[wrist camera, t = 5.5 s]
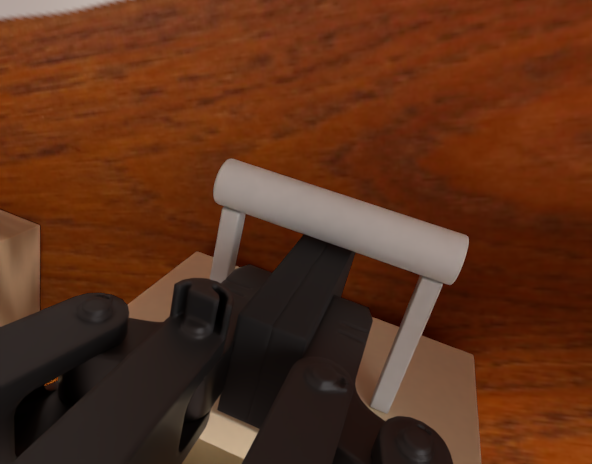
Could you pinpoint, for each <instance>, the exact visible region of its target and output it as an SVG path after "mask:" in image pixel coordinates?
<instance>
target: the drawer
mask: <svg viewBox="0 0 592 464" xmlns="http://www.w3.org/2000/svg"><path fill="white" fill-rule="evenodd" d="M213 197H214V200H215V202H216V203H217V204H219V205H222V206H225V207H223V208H222V212H221V218H220V223H219V229H218V235H217V240H216V246H215V251H214V257H211V256H209V255H206V254H203V253H201V252H198V251H196V252H195V253H194V254H192V255H191V256H190V257H189V258H187V259H186V260H185V261H183V262H182V263H181V264H179V265H178V266H177V267H176V268H174V269H173V270H172V271H170V272H169V273H168V274H166V275H165V276H164V277H163V278H161V279H160V280H159V281H157V282H156V283H155V284H153V285H152V286H151V287H150V288H148V289H147V290H146V291H144V292H143V293H142V294H140V295H139V296H138V297H137V298H135V299H134V300H133V301H131V302H130V303H129V304H127V305H128V309H129V318H134V319H140V320H146V321H153V322H164V321H165V320H166V319H167V318H168V317H169V316H170V311H171V304H172V297H173V291H174V284H175V283H177V282H179V281H181V280H184V279H189V278H207V279H210V280H214V281H217V282H219V283H222V282H223V281H224V280H226V278H227V277H228V276H229V275H230V274H231V273H232V272H233V271H234V270H235V269H237V268H240V267H238V266H235V265H236V260H237V255H238V250H239V245H240V240H241V235H242V230H243V226H244V221H245V216H246V214H248V215H251V216H254V217H256V218H259V219H262V220H265V221H268V222H271V223H274V224H276V225H279V226H282V227H285V228H288V229H291V230H294V231H296V232H299V233H302V234H305V235H308V236H311V237H313V238H316V239H319V240H322V241H325V242H328V243H331V244H333V245H336V246H339V247H342V248H345V249H348V250H351V251H353V252H356V253H359V254H362V255H365V256H368V257H370V258H373V259H376V260H379V261H382V262H385V263H388V264H390V265H393V266H396V267H399V268H402V269H405V270H408V271H410V272H413V273H416V274H419V275H420V276H419V279H418V281H417V284H416V286H415V289H414V292H413V294H412V297H411V299H410V302H409V304H408V307H407V309H406V312H405V314H404V317H403V319H402V322H401V324H400V327H398V326H395V325H393V324H390V323H387V322H385V321H382V320H379V319H377V318H374V317H372V319H373V322H372V326H371V329H370V332H369V336H368V339H367V342H366V346H365V349H364V353H363V356H362V359H361V363H360V366H359V369H358V373H357V376H356V382H355V386H356V390H357V393H358V395H359V397H360V399H361V400H362V401H363V403H364V404H365V405H366V406H367V407H368V408H369V409H370V410H371V411H372V412H374V413H375V414H376V415H377V416H379V417H380V418H382V419H383V420H384V421H386V420H387V419H390V418H393V417H396V416H404V417H411V418H414V419H416V420H419V421H422V422H424V423H425V424H427V425H428V426H429V427H431V428H432V429H434V430H435V431H436V432H437V433H438V434H439V435H440V437H441V438H442V439H443V440H444V441H445V443H446V445H447V447H448V449H449V451H450V454H451V457H452V461H453V464H481V451H480V437H479V423H478V409H477V395H476V381H475V366H474V355H472V354H470V353H467V352H464V351H462V350H459V349H456V348H454V347H451V346H448V345H446V344H443V343H440V342H438V341H435V340H432V339H430V338H427V337H424V336H422V333H423V331H424V328H425V326H426V323H427V321H428V319H429V316H430V314H431V312H432V309H433V307H434V305H435V302H436V300H437V298H438V295H439V293H440V291H441V288H442V283H445V284H447V285H452V284H453V283H454V282H455V280H456V279H457V277H458V275H459V273H460V271H461V268H462V266H463V263H464V260H465V257H466V254H467V250H468V246H469V237H468V236H467V235H464V234H461V233H458V232H455V231H452V230H449V229H446V228H443V227H440V226H437V225H434V224H430V223H427V222H424V221H421V220H418V219H415V218H412V217H409V216H406V215H403V214H400V213H397V212H394V211H391V210H388V209H385V208H382V207H379V206H376V205H373V204H370V203H367V202H364V201H360V200H357V199H354V198H351V197H348V196H345V195H342V194H339V193H336V192H333V191H330V190H327V189H324V188H321V187H318V186H315V185H312V184H309V183H306V182H303V181H300V180H297V179H293V178H290V177H287V176H284V175H281V174H278V173H275V172H272V171H269V170H266V169H263V168H260V167H257V166H254V165H251V164H248V163H245V162H242V161H239V160H236V159H228V160H226V161H225V162H224V163H223V165H222V166H221V168H220V170H219V172H218V174H217V177H216V180H215V184H214V189H213ZM220 395H221V394H220ZM219 399H220V396H219V397H218V399H217V400H216V402H215V403H214V405H213V406H212V408H211V411H210V416H209V420H208V423H207V425H206V428H205V429H204V431H203V432H202V434H201V435H200V437H199V438H198V440H197V442H196V443H195V445H194V446H193V448H192V449H191V451H190V452H189V454H188V455H187V457H186V458H185V460H184V461H183V463H182V464H242V462H243V460H244V458H245V456H246V454H247V453H248V451H249V449H250V447H251V445H252V443H253V441H254V439H255V437H256V435H257V433H258V431H259V429H258V428H256V427H254V426H252V425H249V424H247V423H245V422H243V421H240V420H238V419H236V418H234V417H231V416H229V415H227V414H225V413H223V412H220V411H218V410H217V408H218V404H219Z"/></svg>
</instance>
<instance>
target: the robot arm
mask: <svg viewBox="0 0 592 464" xmlns="http://www.w3.org/2000/svg"><path fill="white" fill-rule="evenodd" d="M354 255H355V252H353V251H351V250H348V249H345V248H342V247H339V246H336V245H333V244H331V243H328V242H325V241H322V240H319V239H316V238H313V237H311V236H308V235H305V234H304V235H303V236H302V237H301V239H300V240H299V241H298V242H297V244H296V245H295V246H294V247H293V248H292V250H291V251H290V252H289V253H288V254H287V256H286V257H285V258H284V259H283V261H282V262H281V263H280V264H279V265H278V267H277V268H276V269H275V270H274V271H273V273H271V272H269V271H266V270H263V269H261V268H258V267H255V266H253V265H250V264H248V265H245V266H243V267H240V268H237V269H235V270H234V271H233V272H232V273H231V274H230V275H229V276H228V277H227V278H226V280H224V281H223V282H222V283H219V282H217V281H214V280H210V279H207V278H189V279H184V280H181V281H179V282H177V283H175V284H174V291H173V297H172V304H171V311H170V316H169V317H168V318H167V319H166V320H165V321H164V322H153V321H146V320H140V319H134V318H129V309H128V305H127V304H126V303H125V302H124V301H123V300H122V299H120V298H118V297H116V296H114V295H111V294H105V293H86V294H82V295H79V296H75V297H73V298H70V299H68V300H65V301H63V302H60V303H58V304H55V305H53V306H51V307H48V308H46V309H43V310H41V311H38V312H36V313H33V314H31V315H28V316H26V317H24V318H21V319H19V320H16V321H14V322H11V323H9V324H6V325H4V326H2V327H0V464H182V463H183V461H184V460H185V458H186V457H187V455H188V454H189V452H190V451H191V449H192V448H193V446H194V445H195V443H196V442H197V440H198V438H199V437H200V435H201V434H202V432H203V431H204V429H205V428H206V425H207V423H208V420H209V416H210V411H211V408H212V406H213V405H214V403H215V402H216V400H217V399H218V397H219V396H220V399H219V404H218V408H217V410H218V411H220V412H223V413H225V414H227V415H229V416H231V417H234V418H236V419H238V420H240V421H243V422H245V423H247V424H249V425H252V426H254V427H256V428H258V429H259V431H258V433H257V435H256V437H255V439H254V441H253V443H252V445H251V447H250V449H249V451H248V453H247V454H246V456H245V458H244V460H243V462H242V464H453V461H452V457H451V454H450V451H449V449H448V447H447V445H446V443H445V441H444V440H443V439H442V438H441V437H440V435H439V434H438V433H437V432H436V431H435V430H434V429H432V428H431V427H429V426H428V425H427V424H425V423H424V422H422V421H419V420H416V419H414V418H411V417H404V416H396V417H393V418H390V419H387V420H386V421H384V420H383V419H382V418H380V417H379V416H377V415H376V414H375V413H374V412H372V411H371V410H370V409H369V408H368V407H367V406H366V405H365V404H364V403H363V401H362V400H361V399H360V397H359V395H358V393H357V390H356V386H355V382H356V376H357V373H358V369H359V366H360V363H361V359H362V356H363V353H364V349H365V346H366V342H367V339H368V336H369V332H370V329H371V326H372V322H373V319H372V316H371V313H370V310H369V308H368V307H365V306H363V305H360V304H357V303H355V302H352V301H349V300H347V299H344V298H341V295H342V292H343V289H344V286H345V283H346V280H347V277H348V274H349V271H350V268H351V265H352V262H353V259H354ZM57 377H58V381H56V382H54V383H52V384H49V385H46V386H44V384H46V383H48V382H49V381H51V380H53V379H55V378H57ZM220 394H221V395H220Z"/></svg>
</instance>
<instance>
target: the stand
mask: <svg viewBox="0 0 592 464" xmlns="http://www.w3.org/2000/svg"><path fill="white" fill-rule="evenodd" d="M38 311H40V225H38V224H35V223H33V222H30V221H28V220H25V219H23V218H20V217H18V216H15V215H13V214H10V213H7V212H5V211H2V210H0V327H2V326H4V325H6V324H9V323H11V322H14V321H16V320H19V319H21V318H24V317H26V316H28V315H31V314H33V313H36V312H38Z"/></svg>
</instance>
